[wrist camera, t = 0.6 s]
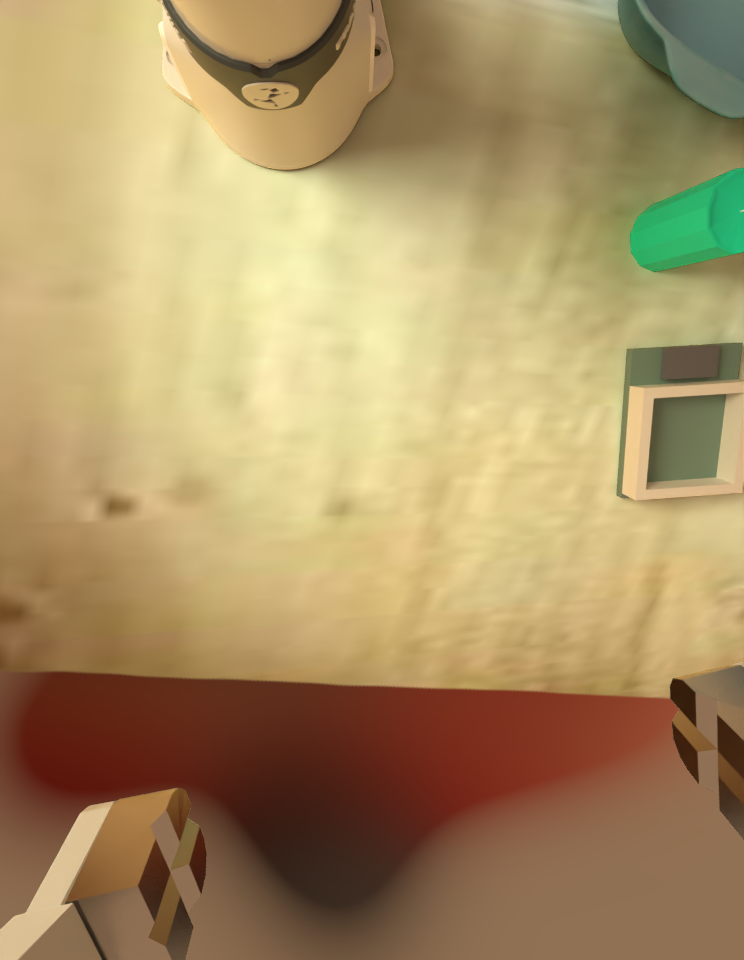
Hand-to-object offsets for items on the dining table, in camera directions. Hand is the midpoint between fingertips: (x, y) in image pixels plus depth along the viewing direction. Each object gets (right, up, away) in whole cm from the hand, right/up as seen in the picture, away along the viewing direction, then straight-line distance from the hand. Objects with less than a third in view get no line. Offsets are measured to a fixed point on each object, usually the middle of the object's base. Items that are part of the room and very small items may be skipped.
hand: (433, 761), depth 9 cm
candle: (+26, +27, +40) cm, 55 cm away
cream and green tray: (+30, +11, +45) cm, 55 cm away
